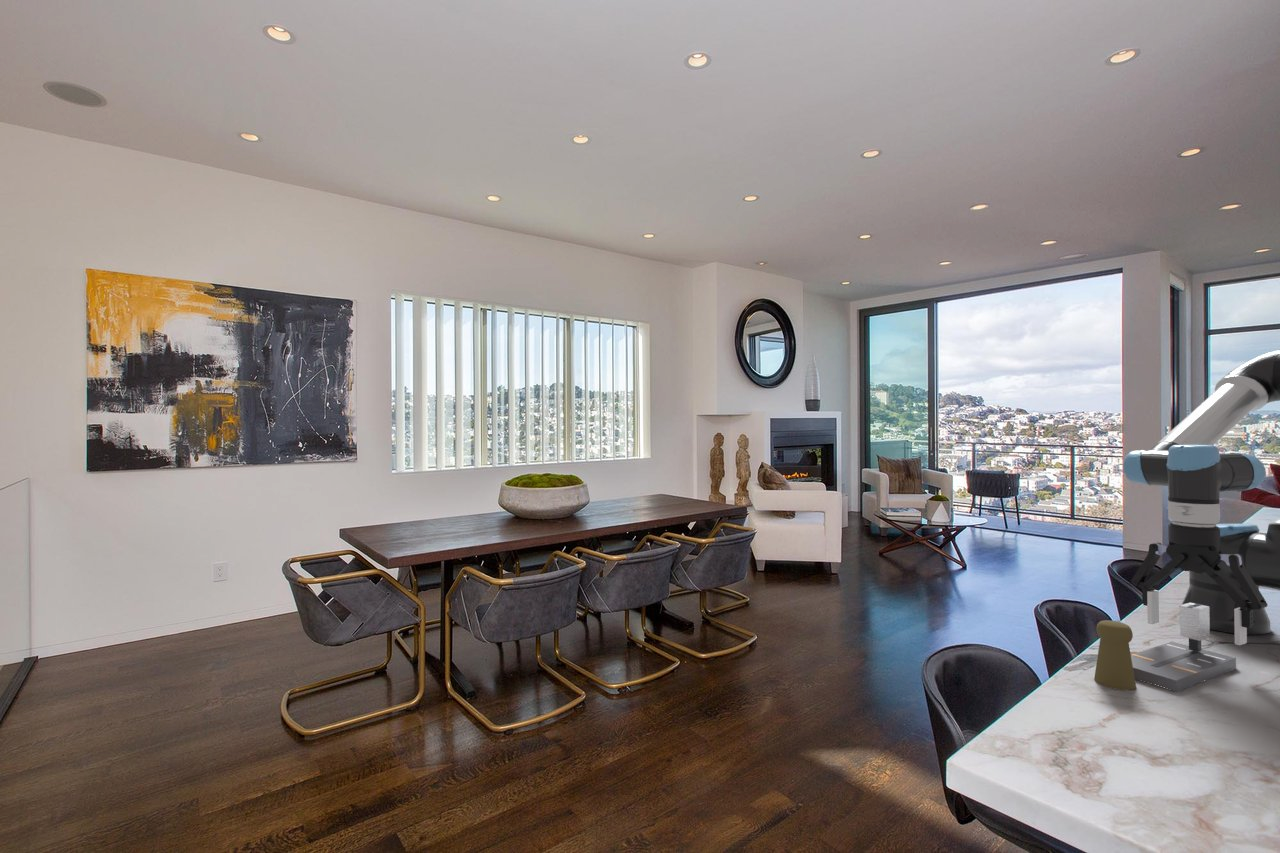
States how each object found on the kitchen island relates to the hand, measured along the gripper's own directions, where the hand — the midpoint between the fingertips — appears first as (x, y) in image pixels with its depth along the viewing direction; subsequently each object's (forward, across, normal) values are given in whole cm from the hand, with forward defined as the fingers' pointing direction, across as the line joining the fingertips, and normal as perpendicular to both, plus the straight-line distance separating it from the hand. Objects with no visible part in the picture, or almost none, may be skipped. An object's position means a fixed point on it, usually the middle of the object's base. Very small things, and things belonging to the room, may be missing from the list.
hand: (1194, 632), depth 120 cm
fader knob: (+3, 0, 0) cm, 3 cm away
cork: (+6, -2, -24) cm, 25 cm away
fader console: (+6, 0, -8) cm, 10 cm away
